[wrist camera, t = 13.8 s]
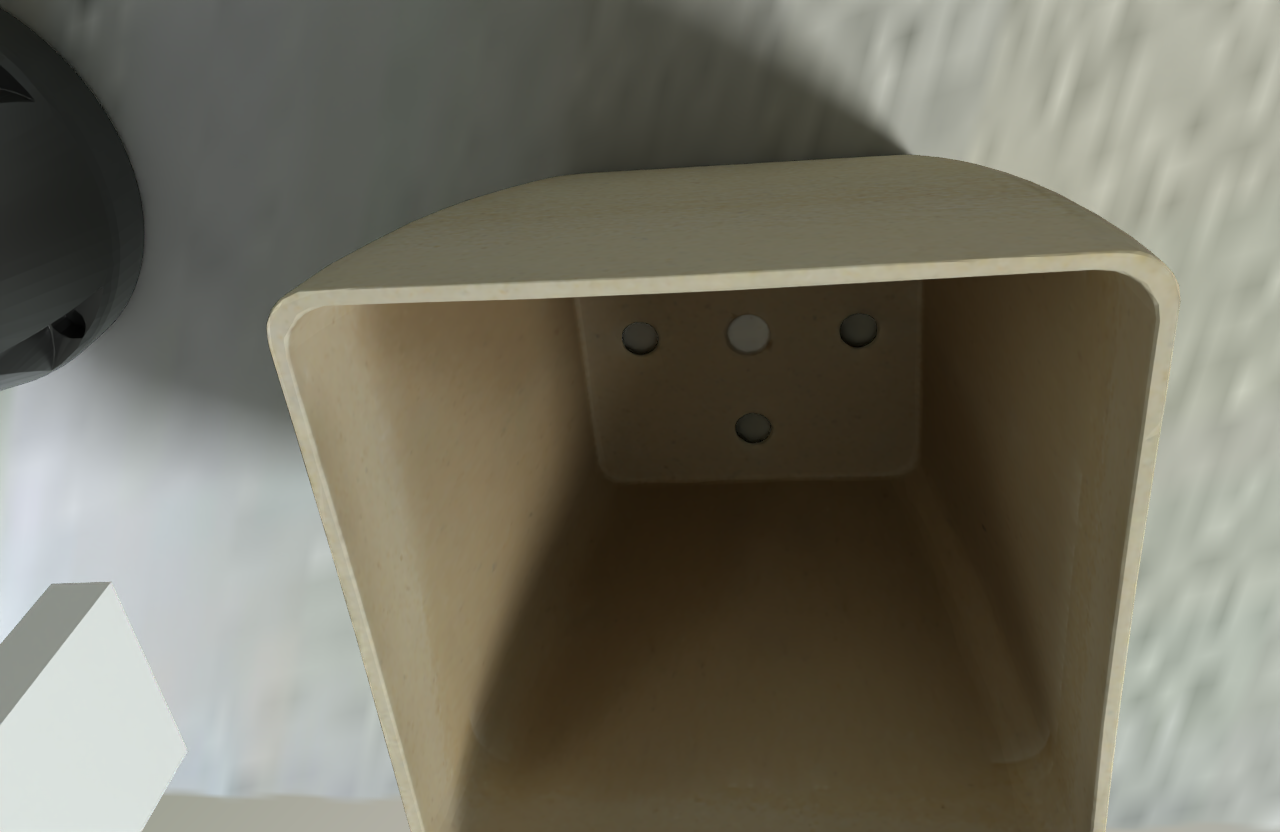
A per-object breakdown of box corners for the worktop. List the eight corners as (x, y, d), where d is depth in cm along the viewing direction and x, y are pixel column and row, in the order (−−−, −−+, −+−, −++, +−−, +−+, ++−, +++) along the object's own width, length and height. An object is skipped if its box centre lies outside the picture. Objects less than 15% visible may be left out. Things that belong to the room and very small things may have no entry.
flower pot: (446, 83, 39) (246, 298, 25) (1034, 37, 36) (1193, 251, 22) (531, 538, 49) (423, 883, 34) (1001, 530, 46) (1097, 902, 32)
